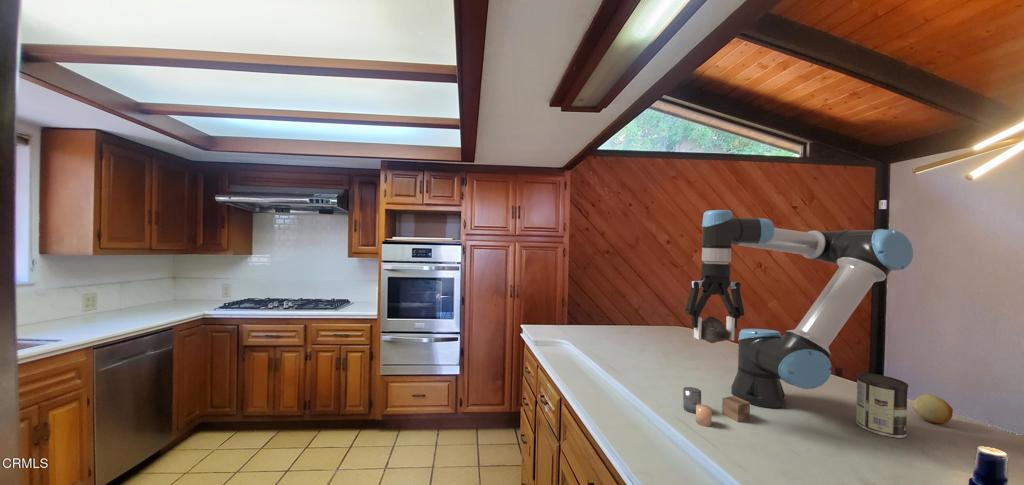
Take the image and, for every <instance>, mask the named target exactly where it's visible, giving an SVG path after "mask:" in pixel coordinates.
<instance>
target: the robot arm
mask: <svg viewBox="0 0 1024 485" xmlns="http://www.w3.org/2000/svg"><path fill="white" fill-rule="evenodd" d="M701 223H702V224H701V228H702V229H701V230H702V234H701V236H702V237H701V238H702V239H701V261H702V263H701V266H700V267H701V268H700V270H701V272H700V274H701V278H700V280H690V290H689V295H688V298H687V302H686V306H685V311H684V312H685V314H687V315H690V316H691V327H692V328H693V338H694V339H695V338H696V340H697V339H698V340H697V341H702V339H701V328H702V321H703V318H702V317H701V313H702V311H703V310H704V308H705V306H706V304H707V302H708V300H709V299H710V298H711V296H713V295H718V296H719V297H720V298H721V300H722V302H723V304H724V307H725V309H726V311H727V313H728V316H727V315H726V319H725V320H726V323H725V325H726V326H725V327H726V329H727V331H728V333H729V339H728V340H729V341H731V342H732V341H733V342H734V341H735V330H736V329H737V328H738V319H740V318H741V316H742V317H743V316H745V311H744V305H743V299H742V295H741V285H742V284H741V282H738V281H731V280H730V277H731V272H732V268H731V264H729V263H730V262H732V245H733V246H734V245H735V246H742V247H746V248H747V247H749V248H753V249H762V250H769V251H774V252H782V253H790V254H795V255H796V254H797V255H802V257H804V258H806V259H808V260H816V261H820V262H823V263H829V264H832V265H838V269H837V270H836V272H835V273H834V274H833V275H832V277H831V279H830V280H829V281H828V283H827V284H826V285H825V287H824V288H823V290H822V291H821V293H820V294H819V295H818V296H817V298H816V299H815V301H814V302H813V304H812V305H811V306H810V308H809V310H808V311H807V312H806V314H805V315H804V316H803V318H802V319H801V320H800V322H799V323H798V325H797V326H796V327H795V328H793V329H790V330H786V331H785V333H784V334H783V335H782V334H781V332H780V331H778V330H773V329H763V328H743V329H741V330H740V331H739V333H738V340H737V341H738V348H737V349H738V353H737V354H738V356H737V372H736V375H735V376H734V380H733V383H732V384H731V388H730V389H731V390H730V392H731V396H736V397H738V398H740V399H743V400H745V401H747V402H750V405H754V406H756V407H757V406H758V407H762V408H770V409H780V408H784V407H785V406H786V404H787V401H786V400H787V397H786V394H785V391H784V388H783V385H782V382H781V380H782V381H783V382H784V383H786V384H788V385H791V386H794V387H796V388H800V389H802V390H803V389H804V390H810V389H811V390H812V389H816V388H820V387H821V386H823V385H824V384H825V383H826V382H827V381H828V380H829V379H830V377H831V374H832V369H831V368H832V363H831V360H830V358H831V355H832V354H831V351H830V349H829V347H830V345H831V344H832V343H833V341H834V339H835V338H836V337H837V335H838V334H839V332H840V331H841V330H842V328H843V327H844V326H845V324H846V323H847V321H848V320H849V318H850V317H851V316H852V314H853V313H854V311H856V309H857V307H858V306H859V305H860V304H861V302H862V300H863V299H864V297H865V296H866V295H867V293H868V292H869V291H870V289H871V288H872V286H873V284H874V283H876V282H883V281H885V279H886V278H887V277H888V276H889V274H890V273H892V271H901V270H904V269H906V268H907V267H909V266H910V265H911V263H912V261H913V257H914V249H913V246H912V242H911V240H910V239H909V238H908V237H907V235H905V234H904V233H903V232H901V231H898V230H894V229H884V228H878V229H855V230H854V229H853V230H849V229H848V230H847V229H845V230H832V231H831V230H830V231H829V230H828V231H827V230H826V231H820V230H809V231H807V232H806V231H800V230H792V229H785V228H781V227H780V228H779V227H775V225H774V224H773V221H772V220H770V219H767V218H761V217H756V218H755V217H734V216H733V212H732V211H731V210H727V209H714V210H712V209H711V210H705V212H704V213H703V216H702V222H701ZM701 287H702V290H701V291H700V288H701ZM729 288H730V293H729V290H728V289H729ZM699 292H700V295H699ZM730 294H731V297H730ZM731 298H732V299H731Z"/></svg>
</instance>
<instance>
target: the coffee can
mask: <svg viewBox="0 0 1024 485" xmlns="http://www.w3.org/2000/svg"><path fill="white" fill-rule="evenodd" d="M856 378H857V380H856V416H855V423H856V425H857V426H859V427H860V428H862V429H864V430H866V431H868V432H871V433H872V434H873V433H874V434H877V435H880V436H883V437H890V438H894V439H895V438H897V439H904V438H906V437H907V436H908V434H907V427H908V426H907V425H908V424H907V415H908V389H909V384H908V383H907V382H905V381H903V380H902V379H901V380H900V379H898V378H894V377H891V376H887V375H882V374H878V373H877V374H876V373H871V372H869V373H867V372H866V373H865V372H860V373H857V374H856Z"/></svg>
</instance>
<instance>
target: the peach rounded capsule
mask: <svg viewBox="0 0 1024 485" xmlns="http://www.w3.org/2000/svg"><path fill="white" fill-rule="evenodd" d="M712 412H713V409H712V407H710V406H709V405H706V404H702V403H701V404H698V405H696V413H695V423H696V424H697V425H699V426H702V427H709V428H710V427H712V421H713V420H712V418H713V413H712Z"/></svg>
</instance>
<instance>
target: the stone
mask: <svg viewBox="0 0 1024 485" xmlns="http://www.w3.org/2000/svg"><path fill="white" fill-rule="evenodd" d="M694 339H696V338H694ZM696 340H697V341H699V340H698V339H696ZM701 340H703V341H706V342H708V343H710V344H715V343H718V342H725V341H728V340H729V333H728V331H727V329H726V326H725V325H724V323H723V322H722V321H721V320H720V319H718V318H716V317H714V316H707V317H706V318H704V319H702V328H701Z"/></svg>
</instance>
